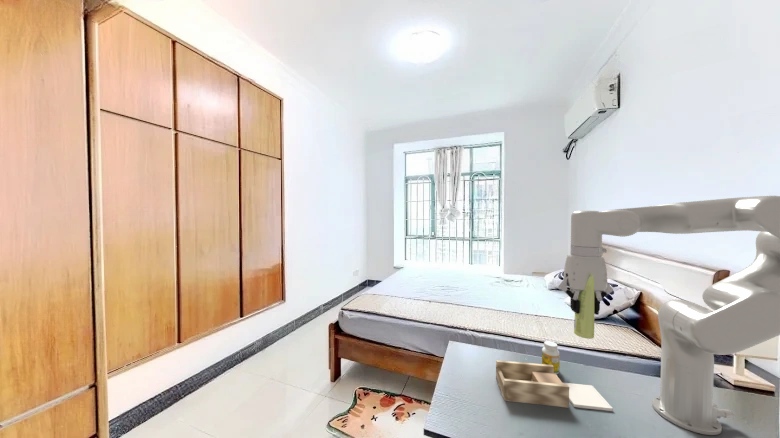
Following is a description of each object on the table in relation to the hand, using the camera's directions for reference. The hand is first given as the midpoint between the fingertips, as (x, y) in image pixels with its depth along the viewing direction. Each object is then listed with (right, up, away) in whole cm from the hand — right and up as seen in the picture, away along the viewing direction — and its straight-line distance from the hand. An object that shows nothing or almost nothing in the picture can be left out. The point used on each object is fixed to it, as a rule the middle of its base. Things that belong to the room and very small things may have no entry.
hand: (584, 311), depth 79 cm
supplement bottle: (-2, -26, +14) cm, 30 cm away
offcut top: (-10, -24, +2) cm, 26 cm away
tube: (0, -8, 0) cm, 8 cm away
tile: (0, -26, +1) cm, 26 cm away
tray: (-15, -26, +3) cm, 30 cm away
